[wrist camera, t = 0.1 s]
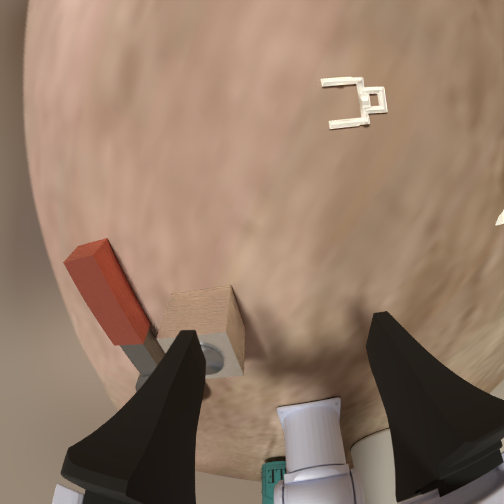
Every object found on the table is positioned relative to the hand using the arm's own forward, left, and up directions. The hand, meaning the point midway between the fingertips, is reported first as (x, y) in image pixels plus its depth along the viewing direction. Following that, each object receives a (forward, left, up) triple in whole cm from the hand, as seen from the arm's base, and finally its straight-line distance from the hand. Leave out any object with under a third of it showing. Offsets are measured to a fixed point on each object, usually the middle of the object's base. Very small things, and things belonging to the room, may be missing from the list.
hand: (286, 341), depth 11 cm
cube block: (-6, +6, -10) cm, 14 cm away
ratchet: (-8, +14, -10) cm, 19 cm away
